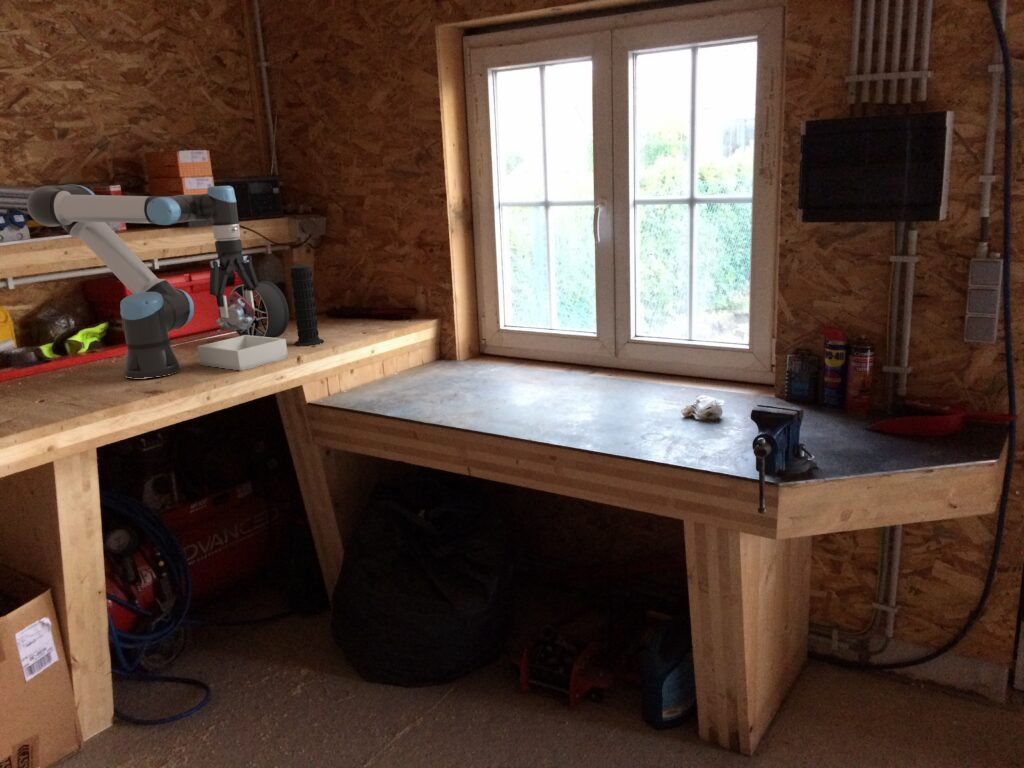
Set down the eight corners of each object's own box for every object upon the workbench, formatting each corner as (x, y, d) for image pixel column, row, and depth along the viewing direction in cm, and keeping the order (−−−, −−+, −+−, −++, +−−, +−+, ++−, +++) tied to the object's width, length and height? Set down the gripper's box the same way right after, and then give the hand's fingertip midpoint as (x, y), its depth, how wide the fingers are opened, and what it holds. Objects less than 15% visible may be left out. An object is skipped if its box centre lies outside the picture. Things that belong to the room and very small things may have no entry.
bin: (240, 371, 250) (237, 351, 249) (200, 365, 261) (197, 346, 259) (287, 358, 264) (285, 339, 263) (247, 353, 275) (245, 334, 274)
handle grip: (319, 345, 281) (328, 339, 290) (309, 264, 274) (319, 261, 284) (289, 346, 282) (299, 340, 291) (279, 266, 275) (290, 262, 285)
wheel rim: (232, 340, 297) (224, 283, 292) (253, 335, 305) (245, 279, 300) (271, 345, 286) (264, 285, 281) (292, 339, 294) (285, 281, 289)
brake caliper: (263, 315, 266) (251, 288, 257) (256, 342, 259) (243, 315, 250) (228, 317, 267) (214, 289, 257) (219, 343, 260) (205, 316, 251)
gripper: (204, 243, 243) (216, 321, 248) (265, 235, 260) (274, 309, 265) (188, 243, 247) (200, 320, 252) (249, 235, 264) (258, 308, 270)
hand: (238, 314), depth 259 cm, fingers closed on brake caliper, 9 cm apart
